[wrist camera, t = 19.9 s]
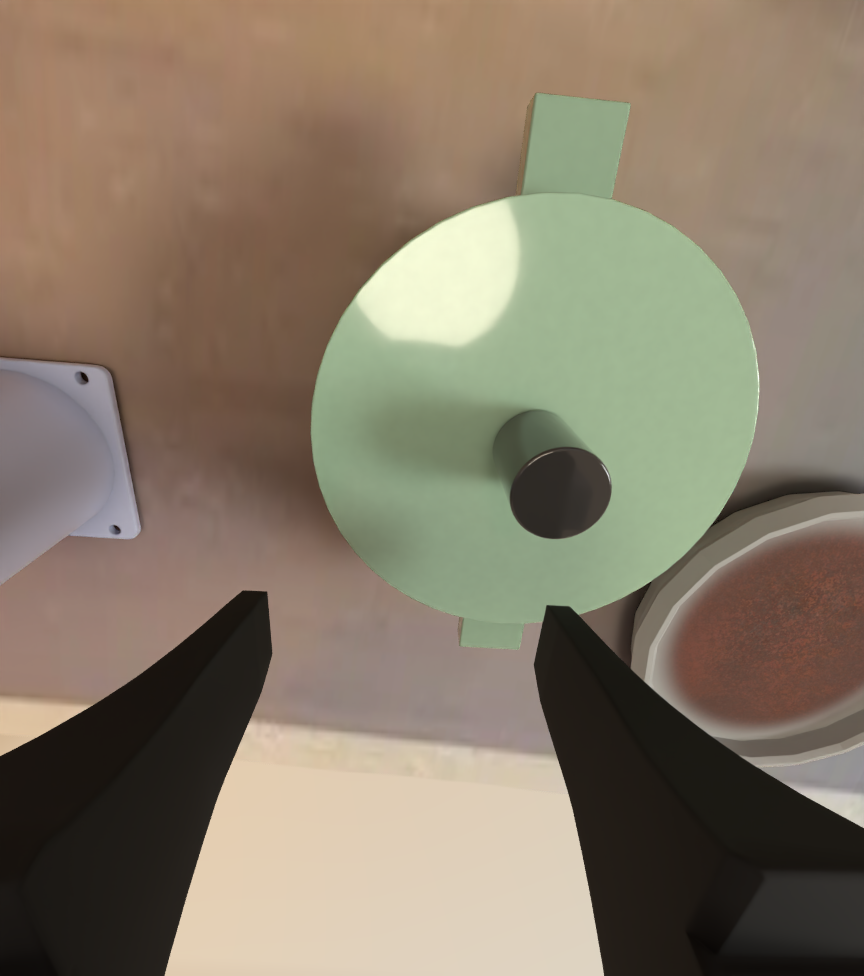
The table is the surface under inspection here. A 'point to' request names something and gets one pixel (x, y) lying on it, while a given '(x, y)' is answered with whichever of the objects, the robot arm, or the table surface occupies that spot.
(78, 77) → the table surface
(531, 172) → the pot
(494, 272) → the lid
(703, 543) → the frying pan
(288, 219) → the table surface
